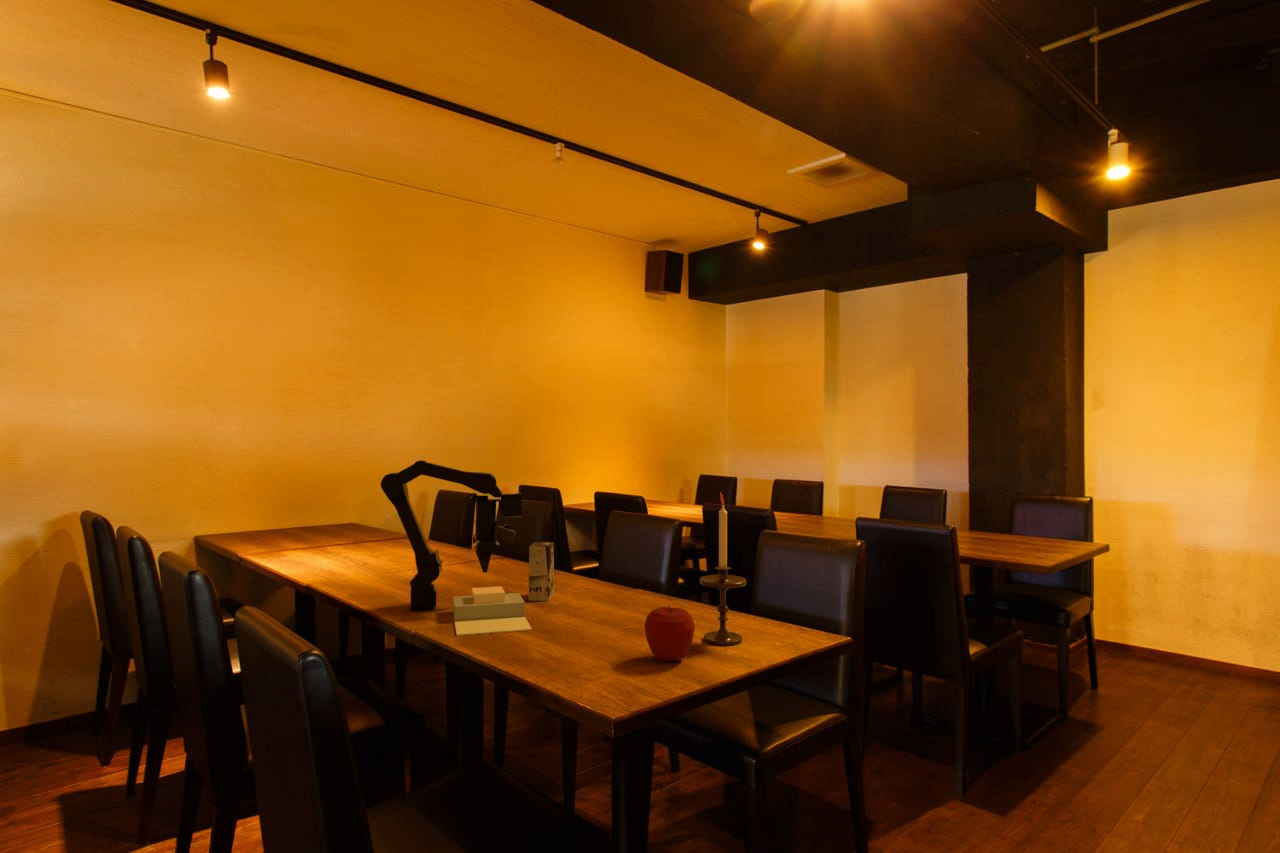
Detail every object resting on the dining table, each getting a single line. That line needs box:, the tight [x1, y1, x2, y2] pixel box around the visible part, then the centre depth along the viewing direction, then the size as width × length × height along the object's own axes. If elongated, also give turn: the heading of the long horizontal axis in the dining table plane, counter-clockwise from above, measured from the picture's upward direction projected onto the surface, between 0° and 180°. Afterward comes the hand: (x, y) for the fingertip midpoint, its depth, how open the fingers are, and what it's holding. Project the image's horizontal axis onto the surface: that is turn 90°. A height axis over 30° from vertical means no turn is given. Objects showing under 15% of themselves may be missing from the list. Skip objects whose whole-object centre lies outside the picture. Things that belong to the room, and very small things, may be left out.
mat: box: [454, 616, 533, 637], centre depth 174 cm, size 18×12×1 cm, turn 107°
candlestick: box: [699, 492, 747, 647], centre depth 164 cm, size 11×11×35 cm
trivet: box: [471, 586, 506, 604], centre depth 187 cm, size 8×8×2 cm
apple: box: [644, 605, 696, 662], centre depth 149 cm, size 11×11×12 cm
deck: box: [452, 592, 526, 623], centre depth 187 cm, size 18×12×4 cm, turn 107°
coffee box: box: [528, 541, 555, 602], centre depth 207 cm, size 9×6×16 cm
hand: (484, 572), depth 196 cm, fingers closed
